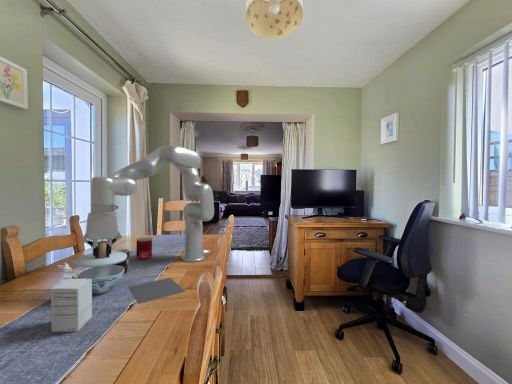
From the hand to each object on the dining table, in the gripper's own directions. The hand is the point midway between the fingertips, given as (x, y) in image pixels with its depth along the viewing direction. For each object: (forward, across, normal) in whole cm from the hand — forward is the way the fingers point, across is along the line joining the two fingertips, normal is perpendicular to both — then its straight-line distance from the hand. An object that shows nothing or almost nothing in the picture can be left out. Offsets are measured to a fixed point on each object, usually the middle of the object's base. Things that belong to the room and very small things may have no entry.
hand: (102, 256), depth 96 cm
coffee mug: (+14, -10, -19) cm, 26 cm away
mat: (+14, -17, +11) cm, 24 cm away
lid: (+1, 0, 0) cm, 1 cm away
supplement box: (+14, +10, +21) cm, 27 cm away
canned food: (+14, -24, -35) cm, 45 cm away
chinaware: (+14, 0, 0) cm, 14 cm away
